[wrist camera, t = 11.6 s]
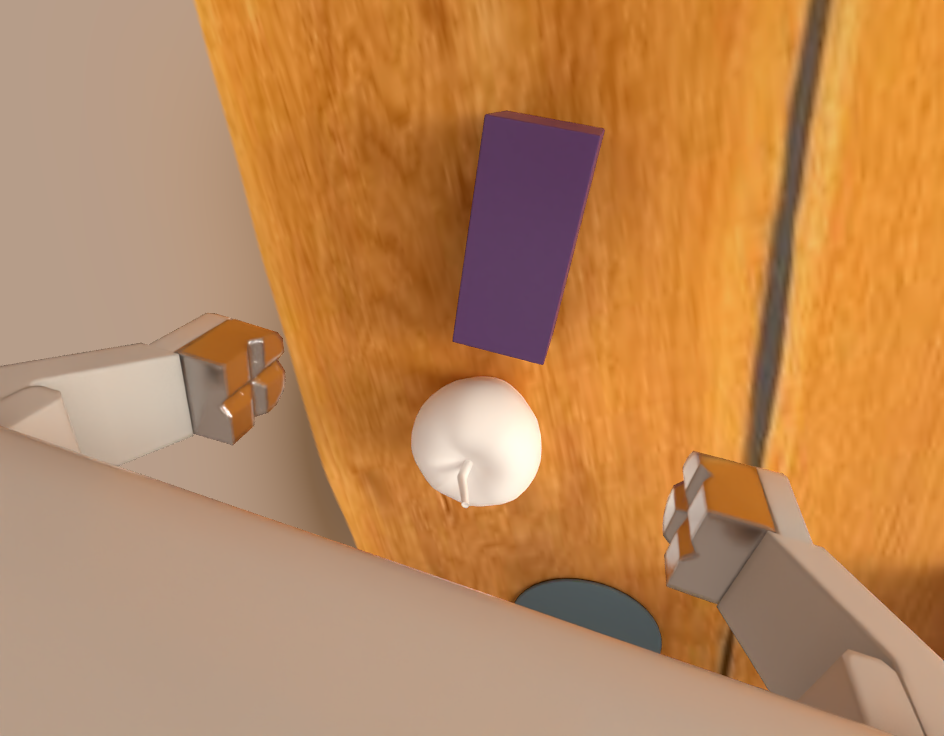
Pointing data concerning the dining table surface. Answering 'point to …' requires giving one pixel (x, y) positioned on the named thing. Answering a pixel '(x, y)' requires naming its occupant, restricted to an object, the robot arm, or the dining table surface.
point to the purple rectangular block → (523, 231)
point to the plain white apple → (477, 441)
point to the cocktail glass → (595, 610)
